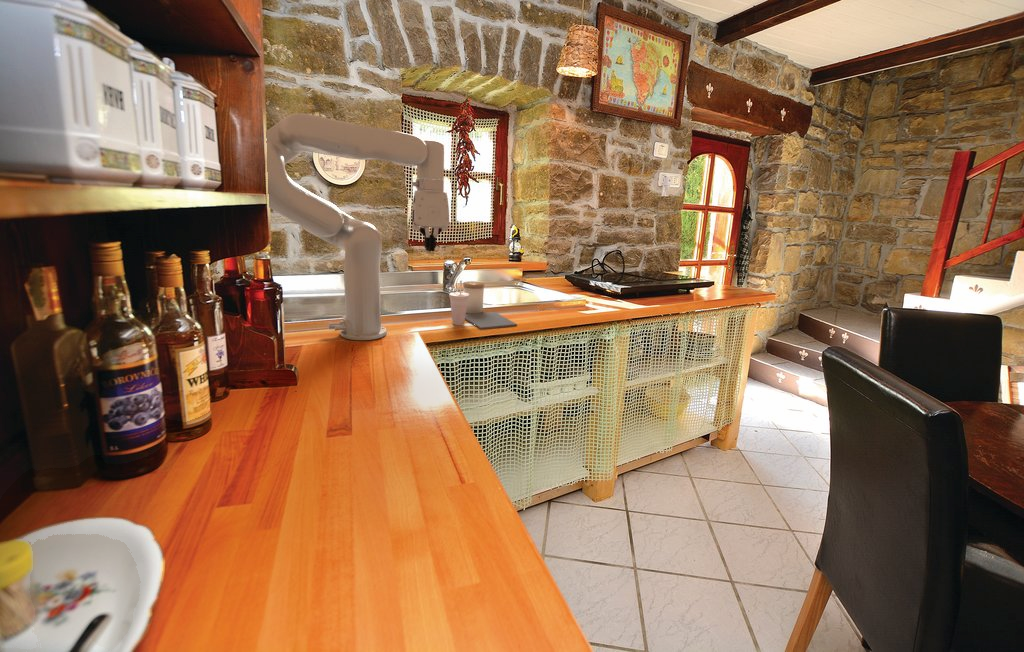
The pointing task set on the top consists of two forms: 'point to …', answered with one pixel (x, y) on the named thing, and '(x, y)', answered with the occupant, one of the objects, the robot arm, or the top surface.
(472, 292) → the canister
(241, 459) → the top surface
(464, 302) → the smoothie
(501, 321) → the mat
